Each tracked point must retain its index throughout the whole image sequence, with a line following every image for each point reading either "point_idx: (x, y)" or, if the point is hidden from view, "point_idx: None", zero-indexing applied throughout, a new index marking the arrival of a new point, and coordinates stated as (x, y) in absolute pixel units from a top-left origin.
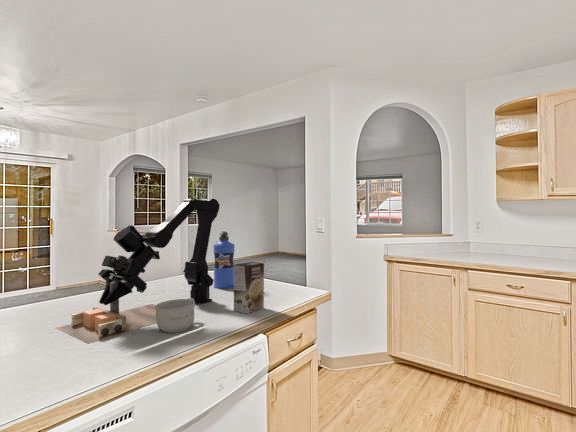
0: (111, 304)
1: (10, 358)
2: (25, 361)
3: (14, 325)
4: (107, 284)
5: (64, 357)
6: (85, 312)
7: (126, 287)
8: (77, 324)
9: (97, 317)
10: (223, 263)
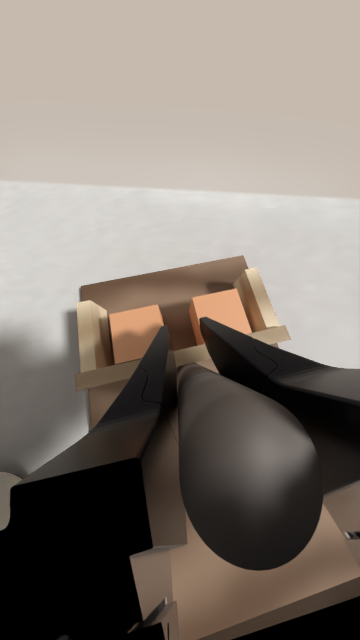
0: (186, 368)
1: (128, 192)
2: (96, 205)
3: (323, 209)
4: (309, 375)
5: (61, 247)
6: (227, 292)
7: (31, 561)
8: None
9: (139, 308)
10: None
